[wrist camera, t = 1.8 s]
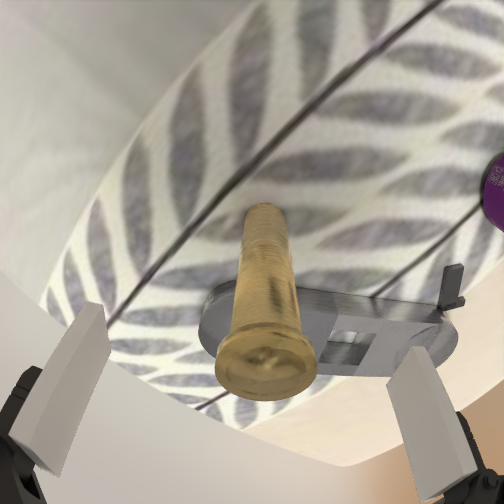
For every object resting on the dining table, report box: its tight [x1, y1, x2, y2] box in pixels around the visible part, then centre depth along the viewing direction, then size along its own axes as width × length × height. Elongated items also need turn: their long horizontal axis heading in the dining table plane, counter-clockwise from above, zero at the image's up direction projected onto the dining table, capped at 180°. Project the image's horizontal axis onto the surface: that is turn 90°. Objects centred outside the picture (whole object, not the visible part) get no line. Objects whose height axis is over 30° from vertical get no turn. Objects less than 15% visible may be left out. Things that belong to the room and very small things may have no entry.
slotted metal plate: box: [198, 280, 458, 377], centre depth 27 cm, size 7×26×3 cm, turn 81°
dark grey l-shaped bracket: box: [438, 264, 465, 311], centre depth 25 cm, size 5×3×1 cm, turn 11°
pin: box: [215, 203, 317, 401], centre depth 17 cm, size 4×4×14 cm
